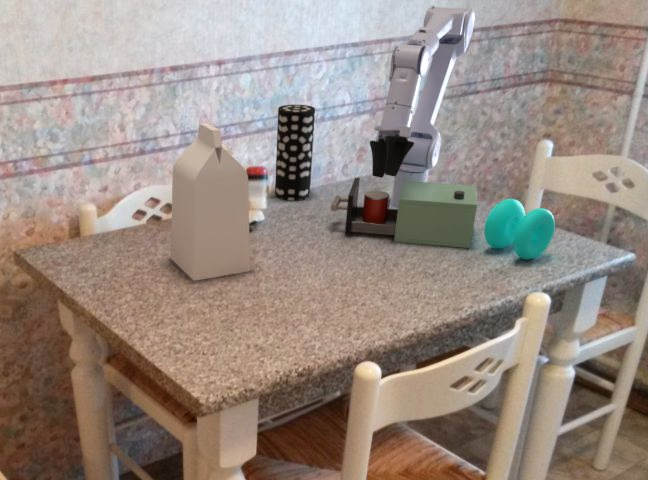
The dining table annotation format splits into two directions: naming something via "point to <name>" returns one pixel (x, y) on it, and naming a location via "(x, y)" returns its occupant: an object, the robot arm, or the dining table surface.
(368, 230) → the open drawer with handle
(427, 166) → the robot arm
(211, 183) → the milk
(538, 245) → the turquoise yo-yo
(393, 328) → the dining table surface
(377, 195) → the can
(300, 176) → the spotted tube
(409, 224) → the green box with knob
